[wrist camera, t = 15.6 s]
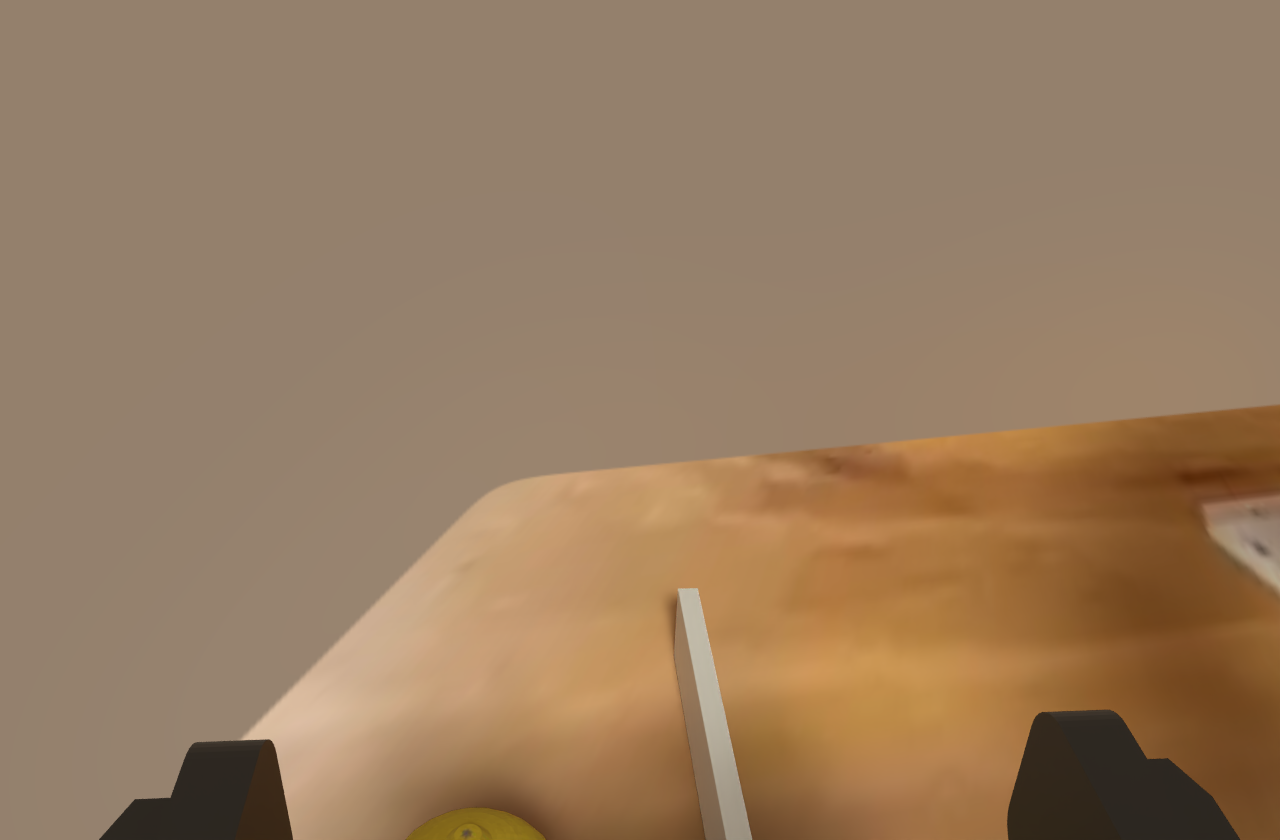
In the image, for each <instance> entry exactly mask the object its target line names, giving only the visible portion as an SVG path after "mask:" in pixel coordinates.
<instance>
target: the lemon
mask: <svg viewBox="0 0 1280 840" xmlns="http://www.w3.org/2000/svg"><path fill="white" fill-rule="evenodd" d="M406 840H546V839H545V838H544V836H543V835H542V834H541V833H540V832H538V831H537V830H536V829H535V828H533V827H532V826H531V825H530V824H528V823H527V822H526V821H524V820H523V819H521V818H519V817H517V816H514V815H512V814H510V813H508V812H504V811H500V810H495V809H490V808H464V809H459V810H454V811H450V812H447V813H445V814H443V815H440V816H438V817H435V818H433V819H431V820H429V821H428V822H426V823H425V824H423V825H422V826H420V827H419V828H417V829H416V830H414V831H413V832H412V833H411V834H410V835H409V836H408V838H407V839H406Z"/></svg>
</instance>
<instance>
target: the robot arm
mask: <svg viewBox="0 0 1280 840" xmlns="http://www.w3.org/2000/svg"><path fill="white" fill-rule="evenodd" d="M1007 827H1008V839H1009V840H1240V839H1239V837H1238V835H1237V834H1236V832H1235V831H1234V829H1233V828H1232V826H1231V825H1230V823H1229V822H1228V820H1227V819H1226V817H1225V816H1224V814H1223V812H1222V811H1221V809H1220V808H1219V806H1218V805H1217V803H1216V802H1215V800H1214V799H1213V797H1212V796H1211V795H1210V794H1209V793H1207V792H1206V791H1205V790H1204V789H1203V788H1202V787H1200V786H1199V785H1198V784H1197V783H1196V782H1195V781H1194V780H1192V779H1191V778H1190V777H1189V776H1188V775H1187V774H1185V773H1184V772H1183V771H1182V770H1181V769H1180V768H1178V767H1177V766H1176V765H1175V764H1174V763H1173V762H1172V761H1170V760H1169V759H1168V758H1166V759H1147V758H1146V756H1145V755H1144V753H1143V751H1142V750H1141V748H1140V747H1139V745H1138V743H1137V742H1136V740H1135V738H1134V737H1133V735H1132V733H1131V732H1130V730H1129V729H1128V727H1127V725H1126V724H1125V722H1124V721H1123V720H1122V718H1121V717H1120V716H1119V715H1118V714H1117V713H1115V712H1114V711H1111V710H1087V711H1062V712H1042V713H1039V714H1038V715H1037V716H1036V717H1035V719H1034V721H1033V724H1032V726H1031V730H1030V733H1029V737H1028V740H1027V744H1026V748H1025V751H1024V755H1023V758H1022V762H1021V765H1020V769H1019V772H1018V776H1017V779H1016V783H1015V786H1014V790H1013V794H1012V797H1011V801H1010V804H1009V809H1008V819H1007ZM99 840H293V837H292V831H291V826H290V821H289V816H288V810H287V805H286V800H285V795H284V790H283V785H282V780H281V775H280V770H279V764H278V759H277V754H276V750H275V747H274V744H273V742H272V741H271V740H243V741H218V742H197V743H194V744H193V745H192V746H191V747H190V748H189V750H188V752H187V754H186V757H185V759H184V762H183V765H182V767H181V770H180V773H179V776H178V779H177V782H176V784H175V787H174V790H173V792H172V795H171V798H159V799H135V800H134V801H133V802H132V803H131V804H130V806H129V807H128V808H127V809H126V810H125V811H124V812H123V813H122V814H121V816H120V817H119V818H118V819H117V820H116V821H115V822H114V823H113V825H112V826H111V827H110V828H109V829H108V830H107V831H106V833H105V834H104V835H103V836H102V837H101V838H100V839H99Z"/></svg>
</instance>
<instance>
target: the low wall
mask: <svg viewBox="0 0 1280 840" xmlns="http://www.w3.org/2000/svg"><path fill="white" fill-rule="evenodd" d="M674 660H675V665H676V671H677V677H678V683H679V689H680V694H681V700H682V706H683V712H684V717H685V723H686V729H687V735H688V741H689V746H690V752H691V758H692V764H693V769H694V775H695V781H696V787H697V793H698V798H699V804H700V810H701V816H702V822H703V827H704V833H705V839H706V840H752V836H751V831H750V827H749V822H748V817H747V813H746V808H745V804H744V799H743V795H742V790H741V785H740V781H739V776H738V772H737V767H736V762H735V758H734V753H733V749H732V744H731V739H730V735H729V730H728V726H727V721H726V716H725V712H724V707H723V703H722V698H721V694H720V689H719V684H718V680H717V675H716V671H715V666H714V661H713V657H712V652H711V648H710V643H709V638H708V634H707V629H706V625H705V620H704V615H703V611H702V606H701V602H700V597H699V593H698V588H689V589H678V596H677V612H676V628H675V644H674Z"/></svg>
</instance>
